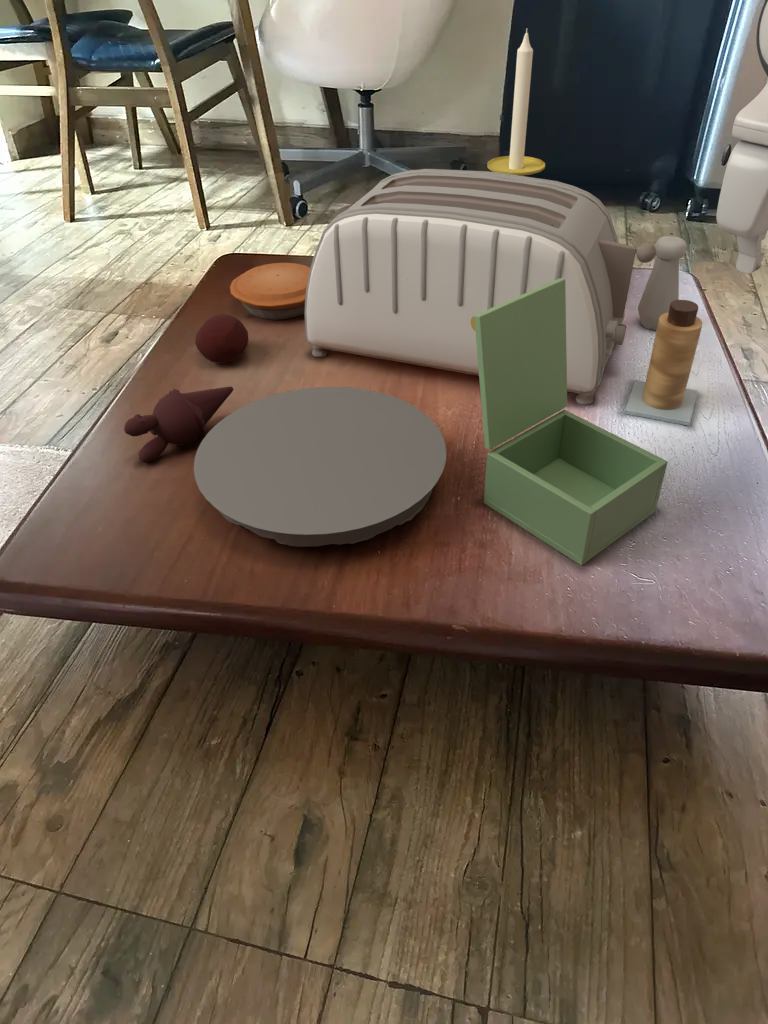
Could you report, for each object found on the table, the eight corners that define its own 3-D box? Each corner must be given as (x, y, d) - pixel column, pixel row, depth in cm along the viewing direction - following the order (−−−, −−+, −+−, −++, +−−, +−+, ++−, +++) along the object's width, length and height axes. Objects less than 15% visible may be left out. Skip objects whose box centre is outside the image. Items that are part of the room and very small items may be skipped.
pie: (251, 282, 134) (247, 254, 131) (338, 287, 131) (336, 258, 128) (219, 322, 122) (213, 292, 119) (314, 329, 120) (311, 298, 117)
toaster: (618, 417, 99) (653, 242, 84) (301, 360, 112) (284, 200, 98) (641, 342, 114) (674, 183, 100) (359, 299, 127) (353, 154, 113)
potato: (189, 368, 111) (181, 329, 108) (216, 339, 118) (209, 302, 114) (237, 374, 110) (231, 335, 106) (262, 344, 116) (257, 306, 113)
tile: (696, 394, 103) (697, 390, 102) (689, 426, 97) (690, 422, 97) (634, 383, 105) (635, 379, 105) (623, 413, 100) (624, 409, 99)
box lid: (565, 278, 80) (529, 273, 83) (479, 316, 74) (444, 308, 77) (567, 406, 88) (534, 396, 91) (489, 450, 81) (457, 438, 85)
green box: (655, 512, 84) (668, 461, 80) (581, 566, 78) (591, 514, 74) (557, 457, 93) (564, 409, 88) (483, 503, 86) (486, 452, 82)
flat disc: (457, 425, 98) (458, 394, 96) (429, 580, 77) (429, 547, 74) (244, 409, 102) (239, 379, 100) (162, 553, 81) (153, 520, 78)
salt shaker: (676, 318, 120) (695, 233, 111) (673, 334, 116) (693, 248, 107) (636, 313, 121) (652, 230, 113) (633, 329, 117) (649, 244, 109)
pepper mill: (684, 393, 102) (708, 299, 93) (679, 413, 98) (704, 317, 90) (645, 386, 103) (665, 293, 95) (639, 405, 100) (659, 310, 92)
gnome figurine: (207, 359, 100) (105, 415, 93) (238, 365, 95) (133, 425, 88) (227, 407, 104) (131, 464, 96) (258, 415, 98) (159, 477, 91)
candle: (514, 278, 133) (537, 20, 109) (548, 300, 126) (580, 29, 102) (463, 290, 129) (475, 26, 105) (495, 313, 122) (515, 37, 98)
